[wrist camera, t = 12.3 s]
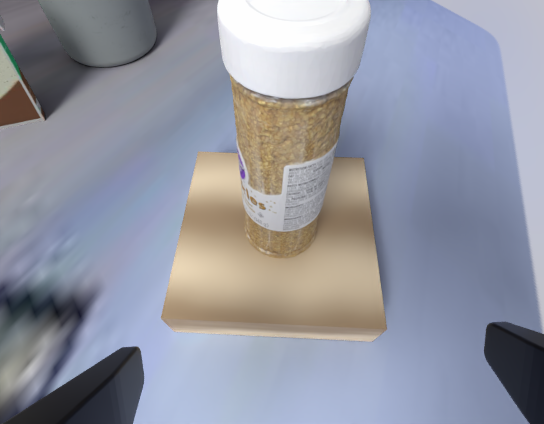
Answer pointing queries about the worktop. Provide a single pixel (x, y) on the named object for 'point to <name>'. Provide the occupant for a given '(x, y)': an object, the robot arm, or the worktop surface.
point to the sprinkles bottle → (288, 107)
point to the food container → (15, 92)
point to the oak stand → (275, 264)
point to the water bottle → (102, 29)
